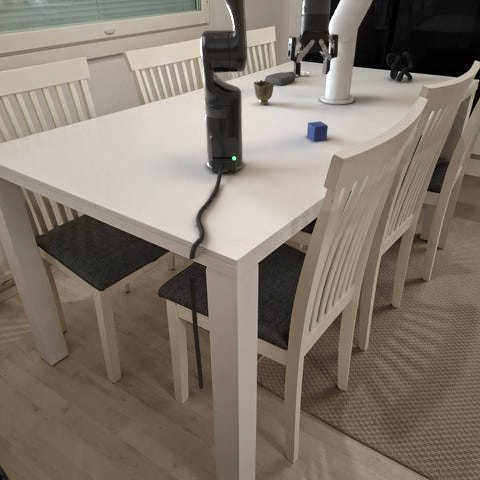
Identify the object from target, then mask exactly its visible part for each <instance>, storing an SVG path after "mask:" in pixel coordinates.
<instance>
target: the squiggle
mask: <svg viewBox="0 0 480 480" xmlns="http://www.w3.org/2000/svg"><path fill="white" fill-rule="evenodd" d="M401 57H402V59H401ZM391 59H392V60H391ZM393 60H394V61H393ZM385 61H386V64H387V67H390V68H391V70H390V72H389V78H390V79H391V80H395V79H396V81H397V82H399V83H400V82H402V81H403V79H404V76H406V78H407V80H408V81H412V80H413V79H414V77H413V75H412V74H411V73H410V72H409V71H410V70H412V69H413V68H414V64H413V61H412V57H411V54H410V53H409V52H408V51H403V53H402V54H401V55H396V54H394V53H392V52H390V53H387V55H386V57H385ZM406 62H407V65H408V66H407V67H405V66H404V65H405V64H406ZM400 70H401V71H400Z"/></svg>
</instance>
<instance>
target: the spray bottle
mask: <svg viewBox="0 0 480 480" xmlns="http://www.w3.org/2000/svg"><path fill="white" fill-rule="evenodd" d="M307 75H309V76H310V72H309V71H305V70H301V72H300V76H307ZM296 77H297V76H295V74H294V72H293V71H285V72H284V71H282V72H275V73H272V74H268V75H266V76H265V78H264V81H265V80H266V83H267V82H268V83H269V81H271V82H272V81H273V83H274V86H284V85H288V84H291V83H293V82H294V81H296ZM297 78H298V77H297Z"/></svg>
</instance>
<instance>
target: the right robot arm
mask: <svg viewBox="0 0 480 480" xmlns="http://www.w3.org/2000/svg"><path fill="white" fill-rule="evenodd" d="M373 1H374V0H339V3H338V4H337V7H336V9H335V10H334V13H333V15H332V16H331V19H330V20H329V28H328V35H331V34H336V35H338V56H337V57H336V58H333V59H331V63H330V71H329V72H328V74H326V77H325V78H326V79H325V91H324V94H323V95H321V96H320V101H321V102H322V103H326V104H330V105H347V104H351V103H353V102H354V99H355V98H354V96H353V95H351V88H352V82H353V81H352V80H353V70H354V62H355V53H356V46H357V39H358V31H359V27H360V26H361V23H362V22H363V20H364V18H365V16H366V14H367V12H368V10H369V8H370V7H371V5H372V3H373ZM328 44H329V45H328V51H329V53H330V42H329V41H328Z"/></svg>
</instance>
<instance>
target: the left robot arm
mask: <svg viewBox="0 0 480 480" xmlns="http://www.w3.org/2000/svg"><path fill="white" fill-rule="evenodd" d="M222 1H223V3H224V6H225V7H226V10H227V11H228V14H229V17H230V19H231V23H232V29H230V30H229V29H210V30H204V31H203V32H202V33H201V35H200V39H199V52H200V61H201V70H202V79H203V98H204V100H203V101H204V116H205V117H204V118H205V133H206V134H205V135H206V153H207V168H208V169H209V170H211V172H212V173H217V177H216V182H215V185H214V188H213V190H212V192H211V194H210V195H209V197H208V199H206V202H205V203H204V204H203V205H202V206H201V207H200V208H199V210H198V212H197V214H196V217H195V221H196V225H197V228H198V230H199V236H198V238H197V239H196V240H195V241H194V242H193V244H192V246H191V247H190V251H189V258H188V259H189V260H190V261H191V260H194V259H195V257H196V252H197V249H198V247H199V246H200V245H201V244H202V243H203V241H204V240H205V237H206V233H205V228H204V226H203V223H202V216H203V213H204V212H205V211H206V210H207V208H208V207H209V206H210V205H211V203H212V202H213V200H214V199H215V197H216V195H217V193H218V191H219V189H220V185H221V181H222V176H223V173H237V171H239V170H240V169H242V168H243V166H244V160H243V114H242V113H243V109H242V108H243V106H242V105H243V104H242V103H243V102H242V101H243V100H242V99H243V98H242V96H243V95H242V90H241V89H240V87H239V86H237V85H234V84H230V83H228V82H226V81H224V80H223V79H221V78H220V77H219V76H218V75H217V74H219V73H220V74H225V73H227V74H230V73H234V74H235V73H243V72H244V71H245V70H246V68H247V63H248V39H247V22H246V21H247V19H246V3H245V2H246V1H245V0H222ZM300 10H301V11H300V34H299V36H293V35H290V36H289V37H288V45H287V54H286V55H287V56H286V58H287V60H289V61H291V62H293V71H292V72H294V74H295V76H297V78H299V77H301V75H300V72H301V71H302V70H301V69H302V62H301V61H302V60H303V58H304V57H305V56H306V55H307V54H313V53H317V54H319V53H320V54H321V56H322V57H323V61H322V74H323V75H326V76H327V74H328V72H329V71H330V63H331V59H333V58H336V57H337V56H338V35H336V34H331V35H330V34H329V23H330V13H331V0H301V8H300ZM329 42H330V53H329V48H328V47H327V45H326V44H327V43H329ZM298 43H299V44H300V46H299V48H298V49H297V51H296V47H297V46H298ZM189 286H190V287H189V288H190V289H189V290H190V305H191V306H190V308H191V319H192V320H191V321H192V331H193V340H194V341H193V343H194V351H195V360H196V371H197V380H198V389H199V390H203V389H204V377H203V368H202V367H203V366H202V357H201V356H202V355H201V347H200V337H199V336H200V335H199V325H198V323H199V322H198V311H197V310H198V309H197V292H196V291H197V290H196V278H190V279H189Z"/></svg>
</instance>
